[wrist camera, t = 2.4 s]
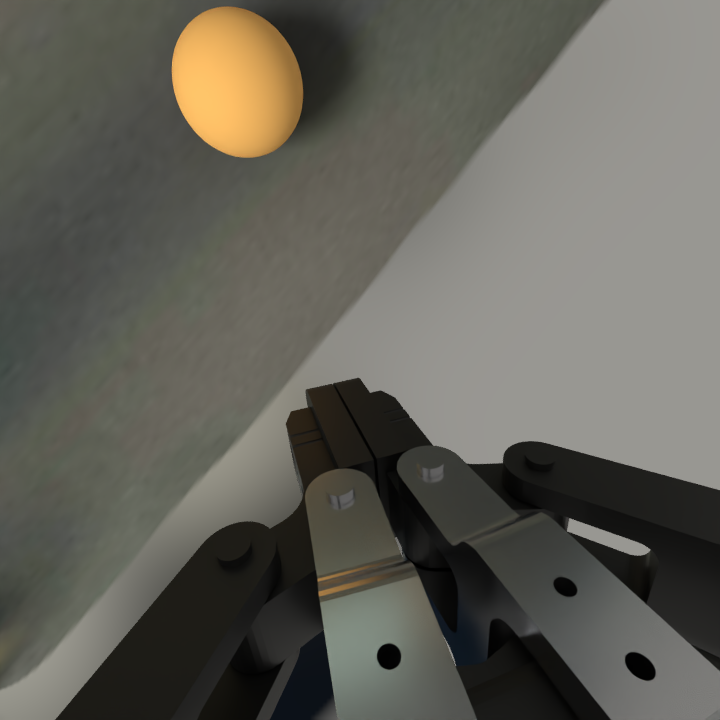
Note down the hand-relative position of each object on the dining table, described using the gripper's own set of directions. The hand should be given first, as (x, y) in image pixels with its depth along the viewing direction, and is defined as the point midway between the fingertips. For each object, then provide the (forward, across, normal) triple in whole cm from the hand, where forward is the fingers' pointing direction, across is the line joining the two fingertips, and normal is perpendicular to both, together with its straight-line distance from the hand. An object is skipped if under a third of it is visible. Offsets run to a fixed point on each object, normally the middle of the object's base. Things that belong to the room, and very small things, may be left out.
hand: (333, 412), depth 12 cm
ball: (+12, 0, -10) cm, 16 cm away
